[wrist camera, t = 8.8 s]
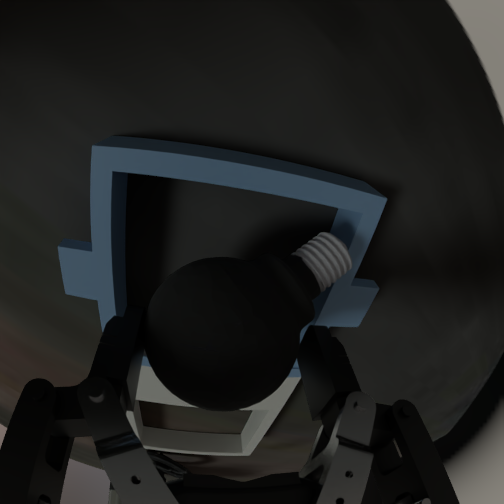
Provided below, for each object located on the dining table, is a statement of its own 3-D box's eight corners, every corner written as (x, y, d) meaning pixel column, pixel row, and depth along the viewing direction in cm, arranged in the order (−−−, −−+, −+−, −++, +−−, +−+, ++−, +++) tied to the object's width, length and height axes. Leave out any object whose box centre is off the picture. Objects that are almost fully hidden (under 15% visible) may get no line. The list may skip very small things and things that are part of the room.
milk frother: (118, 467, 36) (113, 536, 24) (89, 435, 28) (77, 528, 16) (196, 475, 38) (200, 547, 26) (191, 448, 30) (195, 550, 18)
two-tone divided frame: (118, 424, 26) (116, 443, 24) (77, 133, 12) (51, 144, 9) (263, 437, 29) (266, 455, 27) (393, 190, 15) (417, 208, 13)
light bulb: (411, 315, 11) (220, 464, 9) (332, 280, 17) (192, 381, 15) (365, 177, 9) (99, 360, 7) (283, 184, 15) (118, 294, 13)
